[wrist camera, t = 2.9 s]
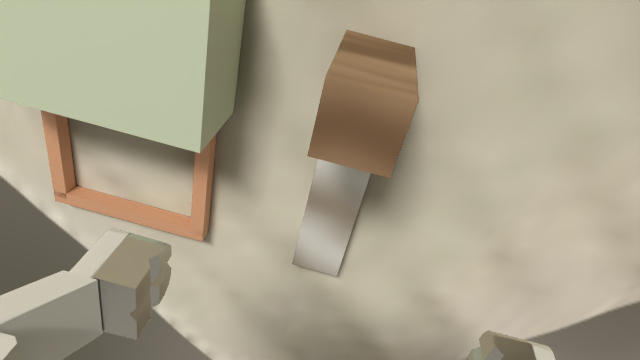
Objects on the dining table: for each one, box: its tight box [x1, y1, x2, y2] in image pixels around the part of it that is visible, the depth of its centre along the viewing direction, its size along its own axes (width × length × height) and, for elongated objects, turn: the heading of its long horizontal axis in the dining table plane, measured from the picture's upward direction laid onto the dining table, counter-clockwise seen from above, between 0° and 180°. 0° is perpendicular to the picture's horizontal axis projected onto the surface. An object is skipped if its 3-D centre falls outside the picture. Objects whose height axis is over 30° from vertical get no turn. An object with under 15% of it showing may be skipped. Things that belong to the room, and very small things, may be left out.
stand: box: [0, 0, 246, 153], centre depth 24 cm, size 14×10×6 cm
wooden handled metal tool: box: [292, 30, 419, 276], centre depth 26 cm, size 18×4×8 cm, turn 168°
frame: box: [41, 110, 217, 241], centre depth 32 cm, size 12×10×1 cm
